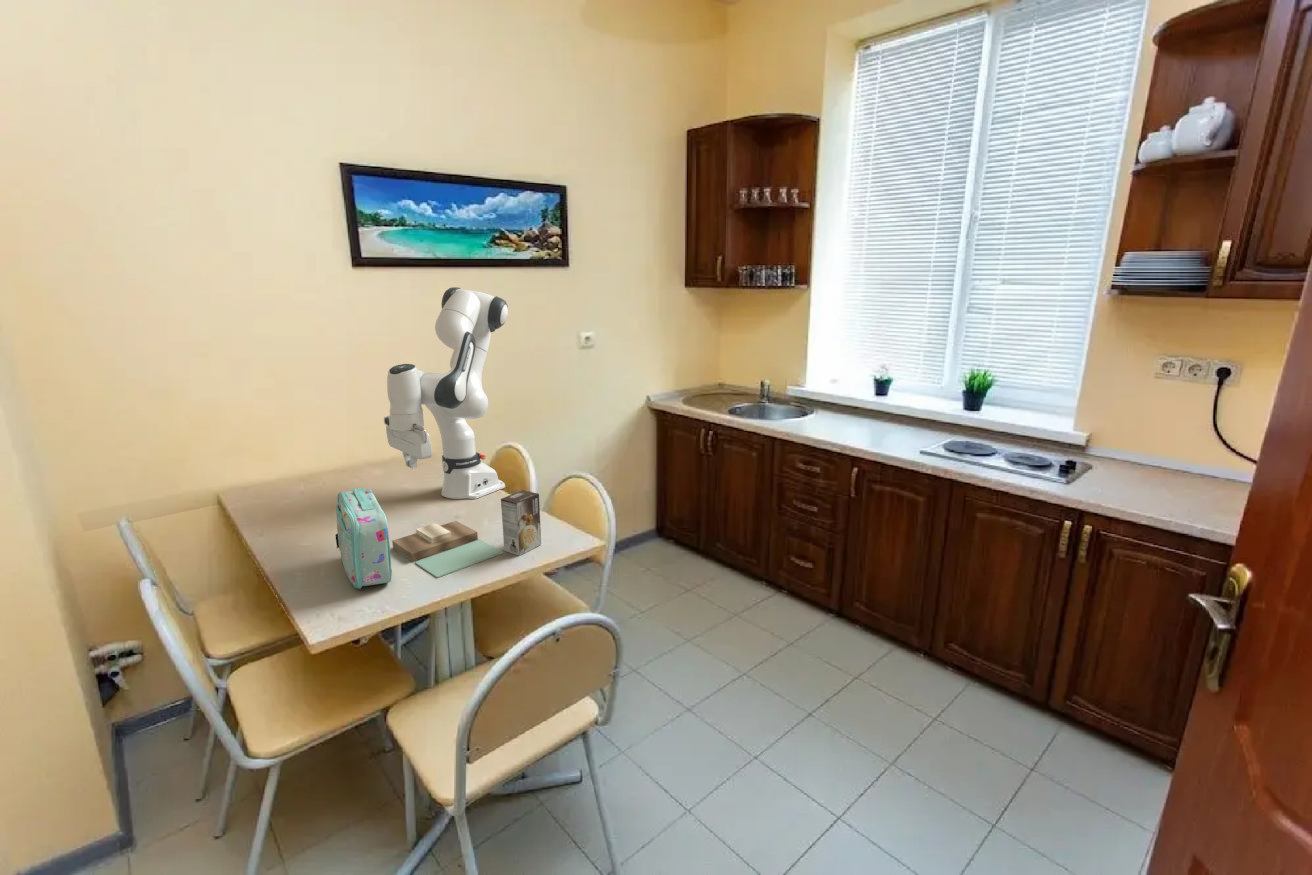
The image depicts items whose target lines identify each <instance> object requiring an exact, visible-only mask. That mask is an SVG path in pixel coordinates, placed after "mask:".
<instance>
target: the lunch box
mask: <svg viewBox="0 0 1312 875" xmlns="http://www.w3.org/2000/svg"><path fill="white" fill-rule="evenodd" d="M335 513H336V528H337V529H336V532H337V533H335V535H334V536H335V543H336V549H339V554H340V558H341V562H342V564H343V566H344V567H343V568H344V572H345V574H346V576H347V579H348V580H349V582H350V583H351V585H352V586H353V588H354V589H362V587H368V586H374V585H380V584H386V583H391V581H392V576H393V570H392V556H391V546H390V534H389V525H388V518H387V515H386V513H385V512H384V510H383V509H382V507H381V505H380V503H379V502H378V500H377V498H376V496H375V494H374V491H373V490H371V489H370V488H369V489H366V488H365V487H358V488H357V487H356V488H353V489H352V490H348V491H339V493H338V495H337V502H336V505H335Z"/></svg>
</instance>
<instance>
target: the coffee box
mask: <svg viewBox="0 0 1312 875" xmlns="http://www.w3.org/2000/svg"><path fill="white" fill-rule="evenodd" d="M500 505H501V519H502V520H501V521H502V522H501V523H502V535H503V536H502V537H503V551H504V552H507V553H509V554H510V553H511V554H512V555H516V556H519V557H520V556H522V555H524V554H526V553H528V552H530V551H532V550H533V549H535V548H537V547H539V546H541V545H542V536H541V535H542V532H541V531H542V530H541V529H542V528H541V513H540V511H541V508H540V506H541V505H540V494H539V493H538V492H534V491H529V490H525V489H521V490H520V491H517V492H515V493H513V494H510V495H508V496H504V497H502V498H500Z"/></svg>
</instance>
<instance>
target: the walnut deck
mask: <svg viewBox="0 0 1312 875" xmlns="http://www.w3.org/2000/svg"><path fill="white" fill-rule="evenodd" d="M440 526H441V527H443V528H445V529H447V530H448V531H450V532H451V537H449V538H446V539H443V540H440V541H437V542H434V543H431V542H429V541H428V540H426V539H424V538H423V537H421V536H419V535H418V534H417V533H413V534H409V535H407V536H404V537H403V536H402V537H400V538H397V539H396V538H395V539H393V540H391V542H392V548H393V550H394V551H396V552H397V553H399V554H400V555H401V556H403V557H405V558H407V559H408V560H409V561H411V562H412V563H415V562H416V561H419V560H422V559H425V558H428V557H431V556H434V555H437V554H439V553H442V552H445V551H448V550H451V549H454V548H457V547H460V546H462V545H465V544H468V543H471V542H474V541H477V540H479V538H478V537H479V536H478V535H479V534H478V531H477V530H475V529H472V528H470V527H469V526H468V525H465V524H463V523H461V522H459V521H457V520H455V521H450V522H448V523H445V524H441V525H440Z"/></svg>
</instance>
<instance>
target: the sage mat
mask: <svg viewBox="0 0 1312 875" xmlns="http://www.w3.org/2000/svg"><path fill="white" fill-rule="evenodd" d="M503 554H504V552H503V551H502V550H500V549H498V548H497V547H494V546H492V545H491V544H488V543H487V542H485V541H484V540H482V539H478V540H476V541H473V542H470V543H467V544H464V545H461V546H458V547H456V548H453V549H450V550H447V551H444V552H441V553H438V554H435V555H432V556H430V557H427V558H424V559H421V560H418V561H415V562H414V564H415V565H417V566H418V567H420V568H421V569H422V570H425V571H426V572H428V573H429V574H430V575H432V576H434V577H435V578H436V579H439V578H442V577H445V576H447V575H450V574H453V573H455V572H458V571H461V570H463V569H465V568H467V567H472V566H473V565H476V564H478V563H481V562H484V561H487V560H489V559H492V558H494V557H497V556H500V555H503Z"/></svg>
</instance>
